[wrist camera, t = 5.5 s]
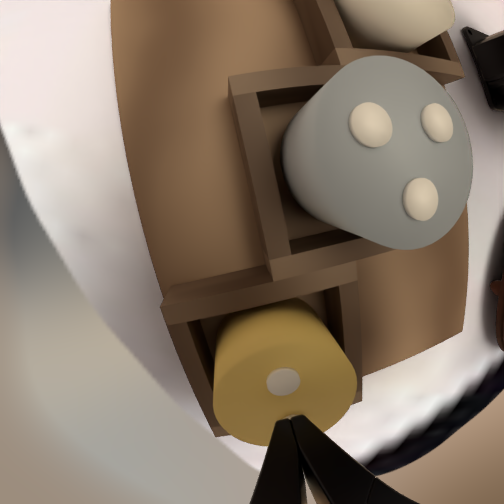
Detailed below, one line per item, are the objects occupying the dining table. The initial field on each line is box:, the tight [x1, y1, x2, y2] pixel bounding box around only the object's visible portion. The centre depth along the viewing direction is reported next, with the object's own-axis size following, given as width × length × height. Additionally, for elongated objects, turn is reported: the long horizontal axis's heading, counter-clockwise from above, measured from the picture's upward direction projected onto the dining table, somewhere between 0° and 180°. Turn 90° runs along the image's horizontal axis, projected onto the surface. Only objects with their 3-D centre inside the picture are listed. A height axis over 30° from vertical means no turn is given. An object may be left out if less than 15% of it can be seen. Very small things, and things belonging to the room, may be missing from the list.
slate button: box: [280, 56, 473, 250], centre depth 7 cm, size 5×5×4 cm
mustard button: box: [213, 297, 357, 446], centre depth 10 cm, size 5×5×4 cm
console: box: [111, 0, 469, 437], centre depth 10 cm, size 16×23×3 cm
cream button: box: [333, 0, 455, 53], centre depth 7 cm, size 5×5×4 cm
